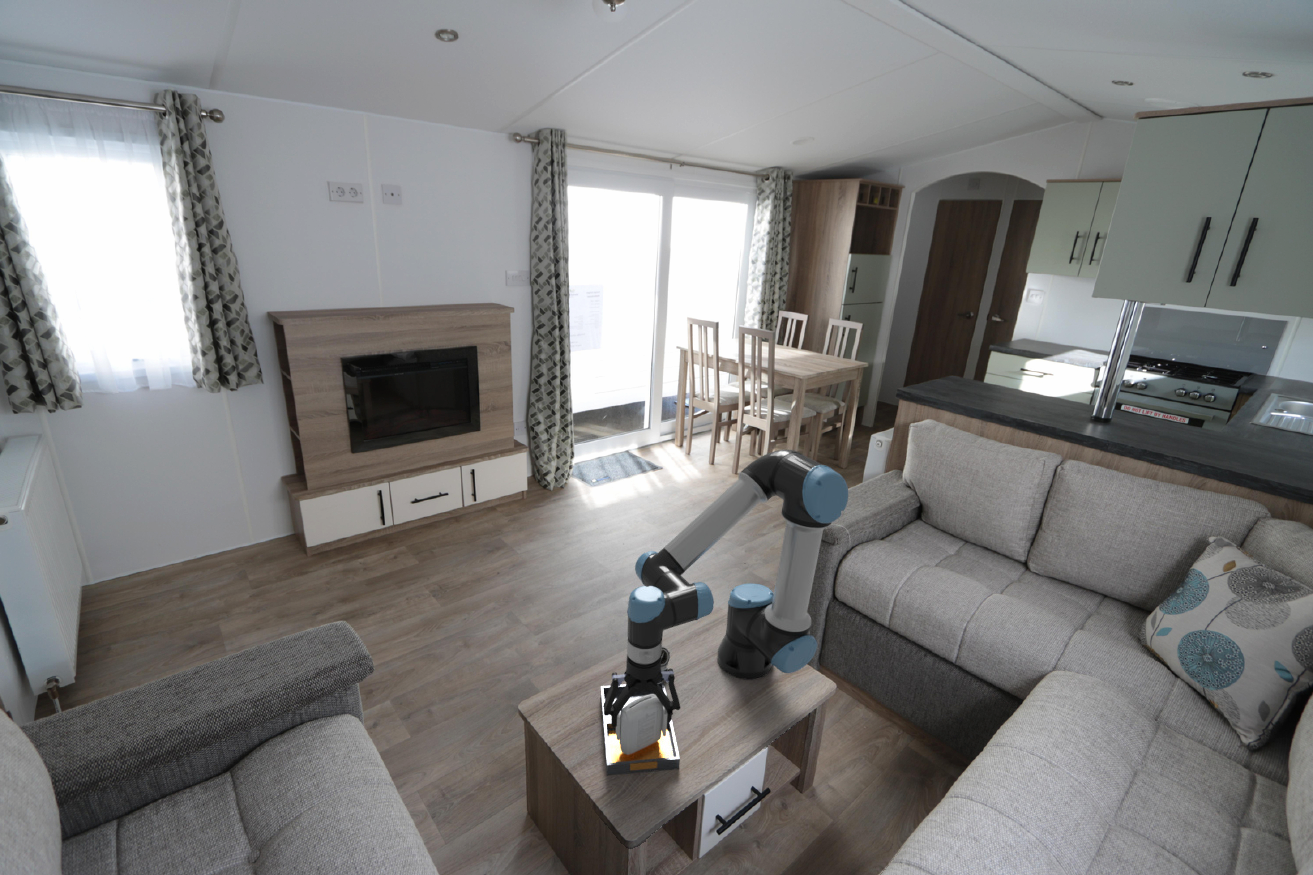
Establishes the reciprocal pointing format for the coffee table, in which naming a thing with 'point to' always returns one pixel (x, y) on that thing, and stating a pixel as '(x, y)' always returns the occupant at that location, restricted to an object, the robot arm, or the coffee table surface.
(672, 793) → the coffee table surface
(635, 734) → the photo printer
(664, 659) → the watch
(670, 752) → the tray
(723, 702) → the coffee table surface
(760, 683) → the coffee table surface
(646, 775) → the coffee table surface
